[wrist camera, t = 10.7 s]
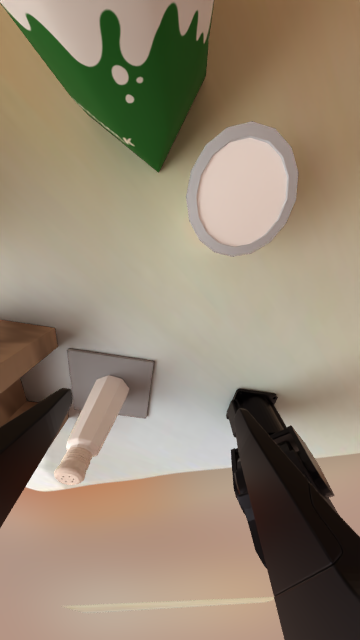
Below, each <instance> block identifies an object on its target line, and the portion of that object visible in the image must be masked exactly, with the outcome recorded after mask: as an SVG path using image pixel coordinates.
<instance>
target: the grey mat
mask: <svg viewBox="0 0 360 640" xmlns="http://www.w3.org/2000/svg"><path fill="white" fill-rule="evenodd" d="M67 354H68V362H69V370H70V378H71V386H72V394H73V402H74V409H75V410H82V409H83V407H84V405H85V403H86V401H87V399H88V396H89V394H90V392H91V390H92V388H93V386H94V384H95V382H96V380H97V379H99V378H102V377H105V376H108V375H110V376H114V377H117V378H121V379H123V381H124V382H125V383H126V385H127V386H128V387H129V391H128V394H127V397H126V399H125V401H124V403H123V405H122V407H121V409H120V411H119V413H118V415H122V416H130V417H138V418H146V417H147V409H148V402H149V394H150V387H151V379H152V372H153V364H154V361H150V360H144V359H137V358H130V357H123V356H116V355H110V354H103V353H96V352H89V351H82V350H75V349H68V350H67Z"/></svg>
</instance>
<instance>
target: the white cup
mask: <svg viewBox="0 0 360 640" xmlns="http://www.w3.org/2000/svg"><path fill="white" fill-rule="evenodd" d="M297 183H298V169H297V165H296V162H295V158H294V155H293V151H292V147H291V146H290V145H289V144H288V143H287V142H286V140H285V139H284V138H283V137H282V136H281V135H280V133H279V132H278V131H277V130H276V129H275V128H272V127H269V126H265V125H262V124H259V123H256V122H253V121H251V122H247V123H243V124H239V125H235V126H231V127H227V128H226V129H225V130H223V131H222V132H221V133H220V134H218V135H217V136H216V137H215V138H214V139H212V140H211V141H210V142H209V143H208V144H206V145H205V147H204V149H203V151H202V152H201V154H200V156H199V158H198V159H197V161H196V163H195V165H194V166H193V168H192V170H191V175H190V180H189V185H188V190H187V195H186V199H187V207H188V215H189V221H190V223H191V225H192V227H193V229H194V231H195V233H196V235H197V237H198V238H199V240H200V241H201V242H202V243H204V244H205V245H206V246H207V247H209V248H210V249H211V250H212V251H214V252H216V253H220V254H224V255H228V256H232V257H234V256H239V255H245V254H250V253H253V252H255V251H256V250H258V249H260V248H261V247H263V246H265V245H266V244H268V243H270V242H271V241H272V239H273V238H274V237H275V236H276V235H277V234H278V232H279V231H280V230H281V229H282V228H283V226H284V225H285V224H286V222H287V220H288V217H289V215H290V213H291V210H292V208H293V206H294V203H295V201H296V194H297Z"/></svg>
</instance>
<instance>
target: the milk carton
mask: <svg viewBox="0 0 360 640" xmlns="http://www.w3.org/2000/svg"><path fill="white" fill-rule="evenodd" d="M0 3H1V5H2V6H3V7H4V9H5V10H6V11H7V13H8V14H9V15H10V17H11V18H12V19H13V21H14V22H15V23H16V25H17V26H18V27H19V29H20V30H21V31H22V33H23V34H24V35H25V37H26V38H27V39H28V41H29V42H30V43H31V45H32V46H33V47H34V48H35V50H36V51H37V52H38V54H39V55H40V56H41V58H42V59H43V60H44V62H45V63H46V64H47V66H48V67H49V68H50V70H51V71H52V72H53V74H54V75H55V76H56V78H57V79H58V80H59V82H60V83H61V84H62V86H63V87H64V88H65V89H66V91H67V92H68V93H69V95H70V96H71V97H72V98H73V100H74V101H75V102H76V103H77V104H78V105H79V106H80V107H81V108H82V109H83V110H84V111H85V112H86V113H87V114H88V115H89V116H90V117H92V118H93V119H94V120H95V121H96V122H98V123H99V124H100V125H101V126H103V127H104V128H105V129H106V130H107V131H109V132H110V133H111V134H112V135H113V136H115V137H116V138H117V139H118V140H120V141H121V142H122V143H123V144H124V145H126V146H127V147H128V148H129V149H130V150H132V151H133V152H134V153H135V154H137V155H138V156H139V157H140V158H141V159H143V160H144V161H145V162H146V163H148V164H149V165H150V166H151V167H152V168H154V169H155V170H156V171H157V172H159V171H160V169H161V167H162V165H163V163H164V161H165V159H166V157H167V155H168V153H169V151H170V148H171V146H172V144H173V142H174V140H175V138H176V136H177V134H178V132H179V130H180V128H181V126H182V124H183V122H184V120H185V118H186V115H187V113H188V111H189V109H190V107H191V105H192V103H193V101H194V99H195V97H196V95H197V93H198V91H199V89H200V87H201V85H202V82H203V80H204V78H205V76H206V67H207V55H208V42H209V34H210V27H211V20H212V13H213V5H214V0H0Z"/></svg>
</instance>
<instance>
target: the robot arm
mask: <svg viewBox="0 0 360 640" xmlns="http://www.w3.org/2000/svg"><path fill="white" fill-rule="evenodd" d="M239 392H240V393H239ZM277 398H278V397H277V396H276V394H272V393H265V392H257V391H250V390H243V389H238V390H237V391H236V393H235V395H234V397H233V400H232V401H231V403H230V405H229V408H228V410H227V414H226V417H227V419H229V421H230V424H231V428H232V432H233V435H234V437H236V439H237V445H238V448H237V449H235V448H234V449H232V450H231V460H232V471H233V485H234V491H235V495H236V498H237V500H238V501H239V504H240V506H241V508H242V510H243V512H244V514H245V515H246V518H247V521H248V524H249V528H250V531H251V535H252V539H253V543H254V546H255V550H256V552H257V554H258V556H259V558H260V559H261V561H262V563H263V564H264V566H265V567H266V568H267V570H268V574H269V578H270V582H271V586H272V590H273V594H274V599H275V602H276V607H277V610H278V615H279V619H280V623H281V627H282V631H283V635H284V639H285V640H360V537H359V536H358V535H357V534H356V533H355V532H354V531H353V530H352V529H351V528H350V526H349V525H348V524H347V523H346V522H345V521H344V520H343V519H342V518H341V517H340V516H339V514H338V513H337V511H336V509H335V507H334V506H333V504H332V502H331V501H330V499H329V497H332V496H334V494H333V492H332V490H331V488H330V486H329V484H328V482H327V480H326V478H325V476H324V474H323V472H322V471H321V468H320V467H319V465H318V463H317V461H316V460H315V458H314V457H313V455H312V453H311V452H310V450H309V449H308V447H307V446H306V444H305V443H304V441H303V440H302V439H301V437H300V436H299V435H298V434H297V432H296V431H295V430H294V428H293V427H292V426H289V427H286V425H285V424H284V422H283V420H282V418H281V417H280V415H279V413H278V411H277V410H276V408H275V406H274V404H275V402H276V400H277ZM71 404H72V393H71V390H70V389H67V388H62V389H59V390H58V391H56V392H55V393H53V394H52V395H50V396H48V397H47V398H45V399H44V400H42V401H41V402H39V403H37V404H36V405H34V406H33V407H31V408H30V409H28V410H26V411H25V412H23V413H22V414H20V415H18V416H17V417H15V418H14V419H12V420H11V421H9V422H7V423H6V424H4V425H3V426H1V427H0V527H1V526H2V524H3V522H4V521H5V519H6V518H7V516H8V514H9V513H10V511H11V509H12V508H13V506H14V504H15V503H16V501H17V499H18V498H19V496H20V495H21V493H22V491H23V490H24V488H25V486H26V485H27V483H28V481H29V480H30V478H31V476H32V475H33V473H34V472H35V470H36V468H37V467H38V465H39V463H40V462H41V460H42V458H43V457H44V455H45V453H46V452H47V450H48V448H49V447H50V445H51V444H52V442H53V440H54V438H55V437H56V435H57V433H58V431H59V429H60V427H61V425H62V423H63V421H64V419H65V417H66V415H67V413H68V411H69V409H70V406H71Z"/></svg>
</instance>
